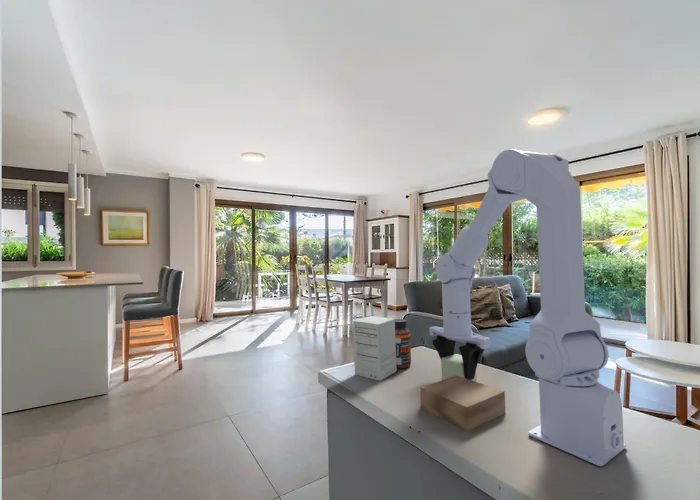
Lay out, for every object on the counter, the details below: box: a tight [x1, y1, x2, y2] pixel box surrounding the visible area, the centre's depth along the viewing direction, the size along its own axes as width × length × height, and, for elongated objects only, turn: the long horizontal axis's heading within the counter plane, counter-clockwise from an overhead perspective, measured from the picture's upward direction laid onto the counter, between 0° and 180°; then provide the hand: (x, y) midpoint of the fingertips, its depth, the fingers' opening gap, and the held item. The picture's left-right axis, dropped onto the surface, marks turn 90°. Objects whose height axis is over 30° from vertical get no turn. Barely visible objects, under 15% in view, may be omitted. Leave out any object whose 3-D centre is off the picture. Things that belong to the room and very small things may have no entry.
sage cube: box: [440, 353, 478, 382], centre depth 72 cm, size 5×5×5 cm
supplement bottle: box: [394, 318, 412, 369], centre depth 84 cm, size 6×6×11 cm
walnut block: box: [419, 376, 506, 432], centre depth 59 cm, size 10×10×4 cm
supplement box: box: [352, 315, 397, 382], centre depth 79 cm, size 7×7×13 cm
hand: (458, 375), depth 72 cm, fingers closed on sage cube, 5 cm apart
